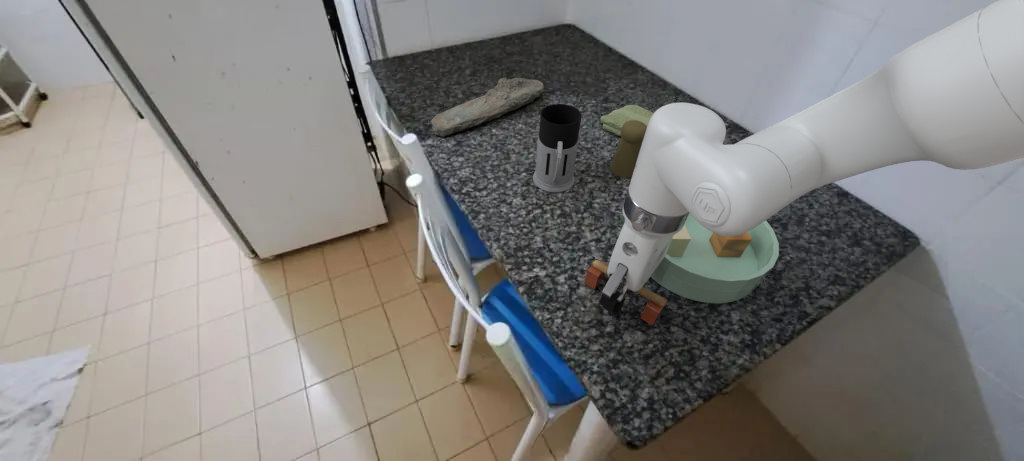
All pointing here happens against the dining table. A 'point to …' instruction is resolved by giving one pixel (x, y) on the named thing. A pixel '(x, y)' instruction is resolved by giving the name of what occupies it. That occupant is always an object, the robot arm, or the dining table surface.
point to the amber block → (730, 244)
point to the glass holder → (557, 147)
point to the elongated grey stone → (487, 105)
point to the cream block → (679, 243)
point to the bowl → (718, 266)
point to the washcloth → (625, 118)
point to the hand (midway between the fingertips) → (624, 288)
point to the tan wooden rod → (642, 291)
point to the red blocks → (651, 308)
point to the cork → (628, 148)
